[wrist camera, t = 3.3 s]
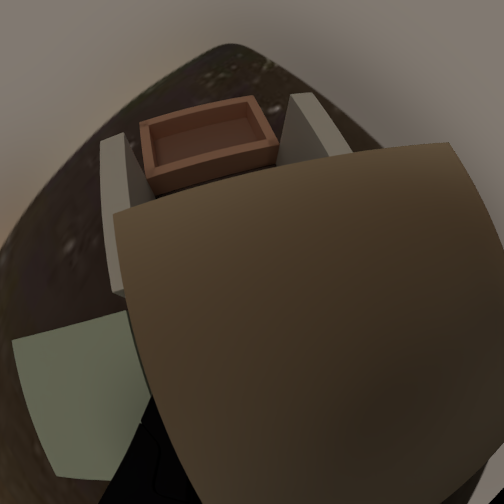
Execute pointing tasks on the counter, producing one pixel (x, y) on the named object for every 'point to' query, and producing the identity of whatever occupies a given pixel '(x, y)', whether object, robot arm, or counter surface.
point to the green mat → (84, 393)
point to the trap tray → (206, 143)
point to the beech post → (323, 328)
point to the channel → (138, 192)
